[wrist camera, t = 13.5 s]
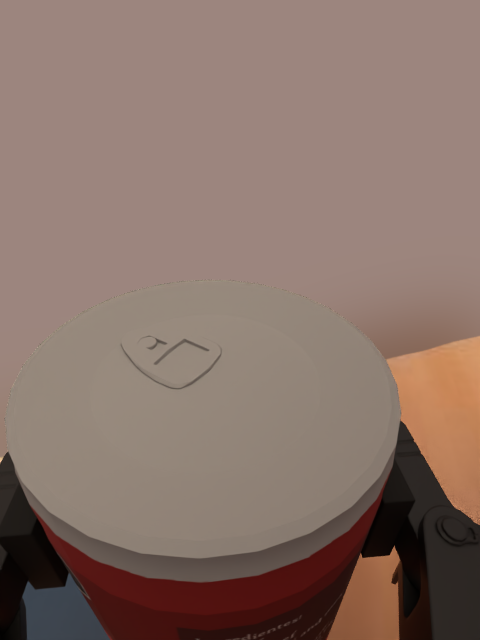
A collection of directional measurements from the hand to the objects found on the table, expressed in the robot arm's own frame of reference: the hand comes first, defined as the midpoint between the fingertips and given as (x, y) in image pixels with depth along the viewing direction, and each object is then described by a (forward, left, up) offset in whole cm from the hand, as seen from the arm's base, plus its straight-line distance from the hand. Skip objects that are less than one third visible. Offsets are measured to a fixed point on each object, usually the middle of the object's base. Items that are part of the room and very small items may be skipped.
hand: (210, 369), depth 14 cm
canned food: (0, +5, -7) cm, 8 cm away
